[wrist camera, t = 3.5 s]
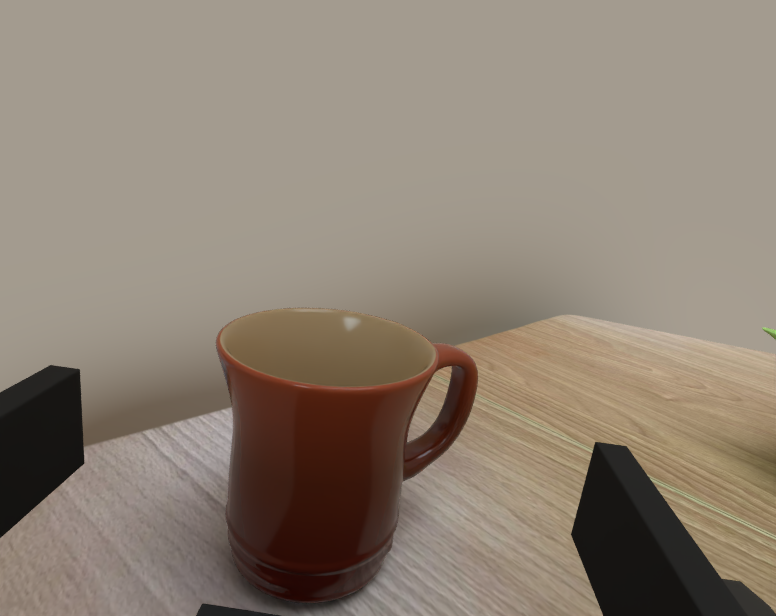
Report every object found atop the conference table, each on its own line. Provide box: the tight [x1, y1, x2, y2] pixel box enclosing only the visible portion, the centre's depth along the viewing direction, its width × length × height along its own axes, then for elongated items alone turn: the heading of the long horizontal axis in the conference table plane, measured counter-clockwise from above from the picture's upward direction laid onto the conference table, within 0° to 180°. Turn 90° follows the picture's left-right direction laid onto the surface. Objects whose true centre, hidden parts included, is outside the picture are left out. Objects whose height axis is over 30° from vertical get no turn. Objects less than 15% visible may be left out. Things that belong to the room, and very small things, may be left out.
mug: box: [216, 308, 478, 603], centre depth 24 cm, size 13×9×11 cm
